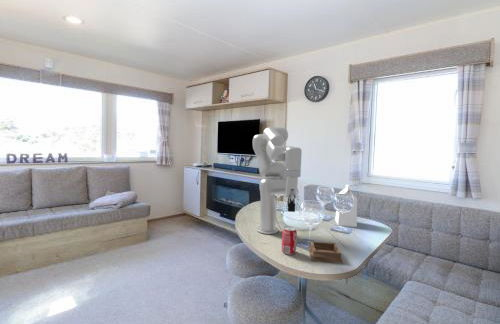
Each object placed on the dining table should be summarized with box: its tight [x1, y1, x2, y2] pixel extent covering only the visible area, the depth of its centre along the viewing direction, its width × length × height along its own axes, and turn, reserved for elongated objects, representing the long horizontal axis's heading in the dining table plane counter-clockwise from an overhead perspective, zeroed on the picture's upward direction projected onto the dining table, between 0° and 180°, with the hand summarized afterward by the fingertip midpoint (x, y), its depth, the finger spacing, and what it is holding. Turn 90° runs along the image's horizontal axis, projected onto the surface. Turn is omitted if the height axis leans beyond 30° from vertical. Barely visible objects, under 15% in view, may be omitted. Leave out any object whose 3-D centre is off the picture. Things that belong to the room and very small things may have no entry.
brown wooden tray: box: [308, 240, 344, 264], centre depth 124 cm, size 14×14×4 cm
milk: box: [334, 184, 358, 228], centre depth 173 cm, size 12×12×26 cm
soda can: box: [281, 225, 298, 255], centre depth 126 cm, size 7×7×12 cm
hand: (291, 208), depth 124 cm, fingers open, 9 cm apart
